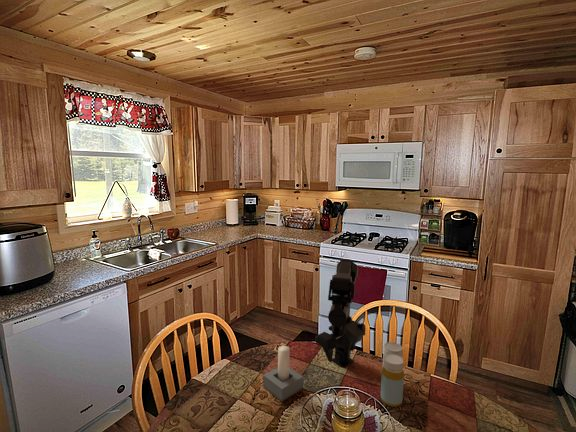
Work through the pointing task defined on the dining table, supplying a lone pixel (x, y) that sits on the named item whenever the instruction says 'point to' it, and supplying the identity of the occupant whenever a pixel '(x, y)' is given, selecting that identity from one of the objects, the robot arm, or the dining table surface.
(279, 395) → the hole block
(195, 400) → the dining table surface
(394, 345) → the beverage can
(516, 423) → the dining table surface
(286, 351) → the peg
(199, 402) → the dining table surface
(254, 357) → the dining table surface
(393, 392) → the bottle
